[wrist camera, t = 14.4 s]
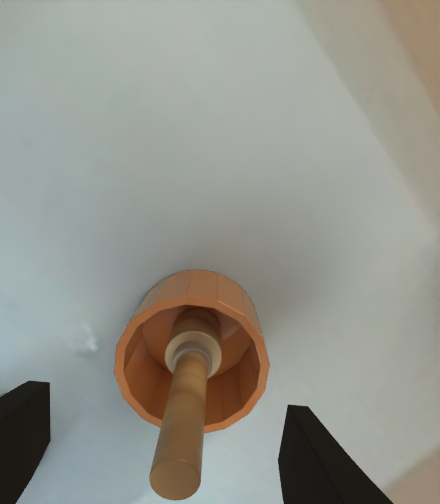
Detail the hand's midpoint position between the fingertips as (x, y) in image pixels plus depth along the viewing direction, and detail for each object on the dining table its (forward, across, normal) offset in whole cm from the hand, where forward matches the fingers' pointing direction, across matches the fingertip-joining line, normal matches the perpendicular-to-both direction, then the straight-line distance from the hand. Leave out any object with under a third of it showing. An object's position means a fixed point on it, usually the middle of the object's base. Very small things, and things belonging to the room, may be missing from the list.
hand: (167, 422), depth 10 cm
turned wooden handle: (+10, 0, +2) cm, 10 cm away
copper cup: (+10, 0, +2) cm, 10 cm away
